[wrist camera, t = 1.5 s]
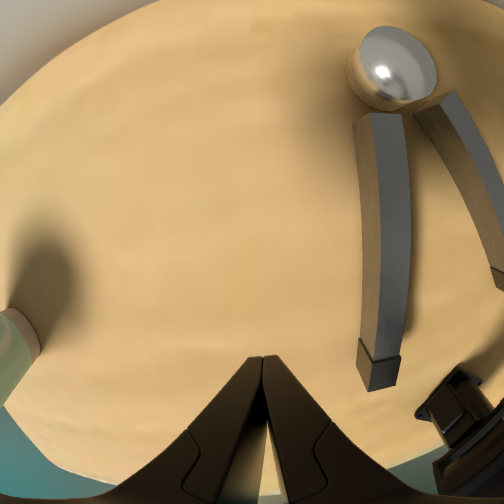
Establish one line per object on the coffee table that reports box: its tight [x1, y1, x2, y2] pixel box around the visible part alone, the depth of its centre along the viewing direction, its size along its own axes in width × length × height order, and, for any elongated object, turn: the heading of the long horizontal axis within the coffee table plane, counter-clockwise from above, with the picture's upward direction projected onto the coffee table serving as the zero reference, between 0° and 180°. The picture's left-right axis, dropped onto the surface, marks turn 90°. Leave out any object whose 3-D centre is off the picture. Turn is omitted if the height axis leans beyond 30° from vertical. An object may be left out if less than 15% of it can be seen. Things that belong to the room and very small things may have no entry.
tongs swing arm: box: [346, 26, 437, 392], centre depth 13 cm, size 21×5×3 cm, turn 7°
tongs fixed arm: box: [413, 91, 504, 292], centre depth 13 cm, size 16×2×3 cm, turn 42°
